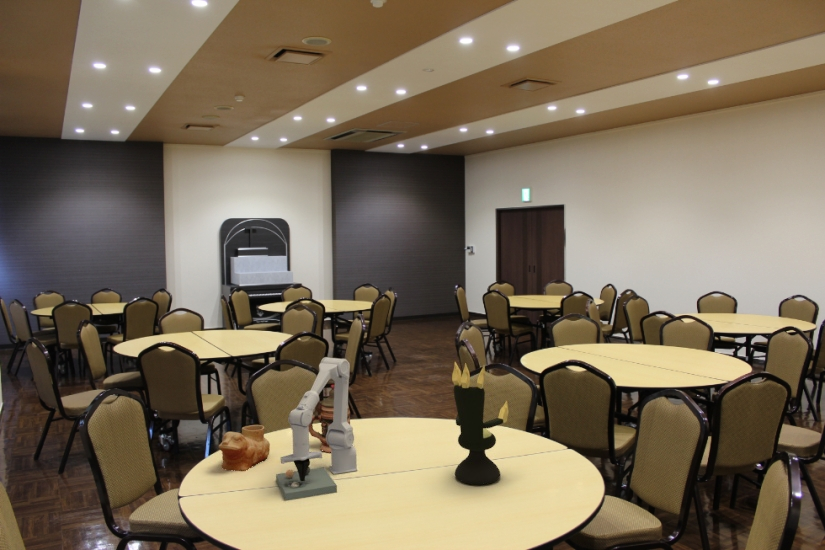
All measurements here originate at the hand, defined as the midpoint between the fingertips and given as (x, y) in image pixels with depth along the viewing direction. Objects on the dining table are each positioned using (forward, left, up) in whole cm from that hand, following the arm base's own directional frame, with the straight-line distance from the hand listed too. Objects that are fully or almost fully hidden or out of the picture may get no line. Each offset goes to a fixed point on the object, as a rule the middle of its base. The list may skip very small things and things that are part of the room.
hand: (302, 480), depth 233 cm
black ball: (-3, -8, +1) cm, 8 cm away
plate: (-2, -3, -4) cm, 5 cm away
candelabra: (-61, +17, -4) cm, 63 cm away
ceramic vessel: (+16, -38, -4) cm, 41 cm away
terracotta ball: (+3, -7, 0) cm, 8 cm away
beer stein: (-22, -42, -4) cm, 47 cm away
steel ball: (+3, 0, -2) cm, 3 cm away
